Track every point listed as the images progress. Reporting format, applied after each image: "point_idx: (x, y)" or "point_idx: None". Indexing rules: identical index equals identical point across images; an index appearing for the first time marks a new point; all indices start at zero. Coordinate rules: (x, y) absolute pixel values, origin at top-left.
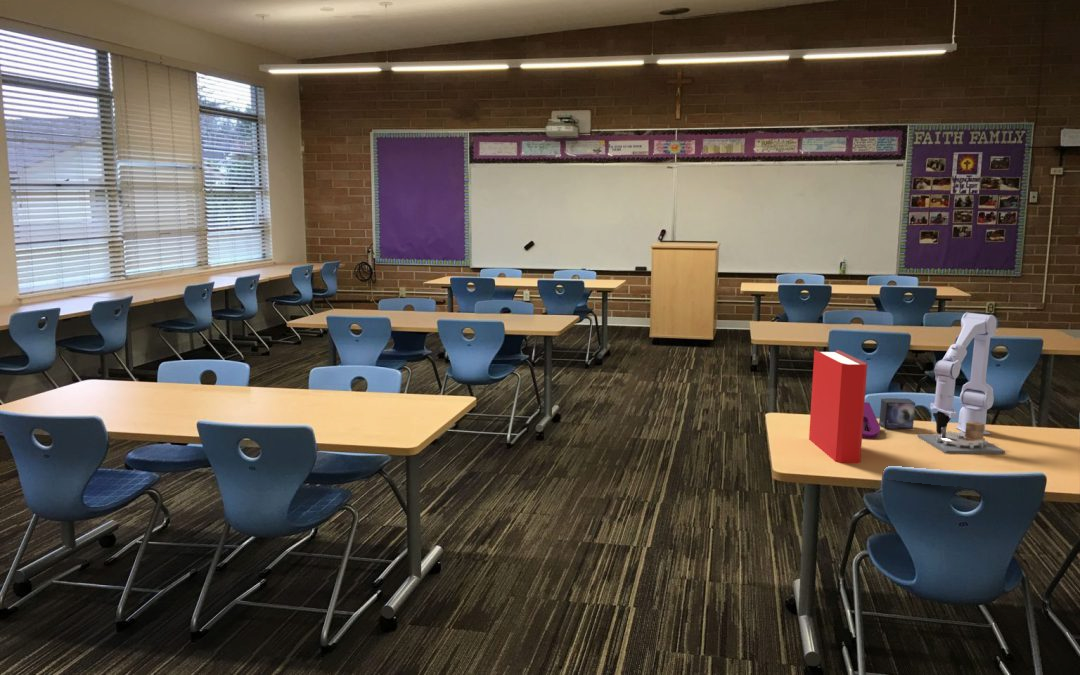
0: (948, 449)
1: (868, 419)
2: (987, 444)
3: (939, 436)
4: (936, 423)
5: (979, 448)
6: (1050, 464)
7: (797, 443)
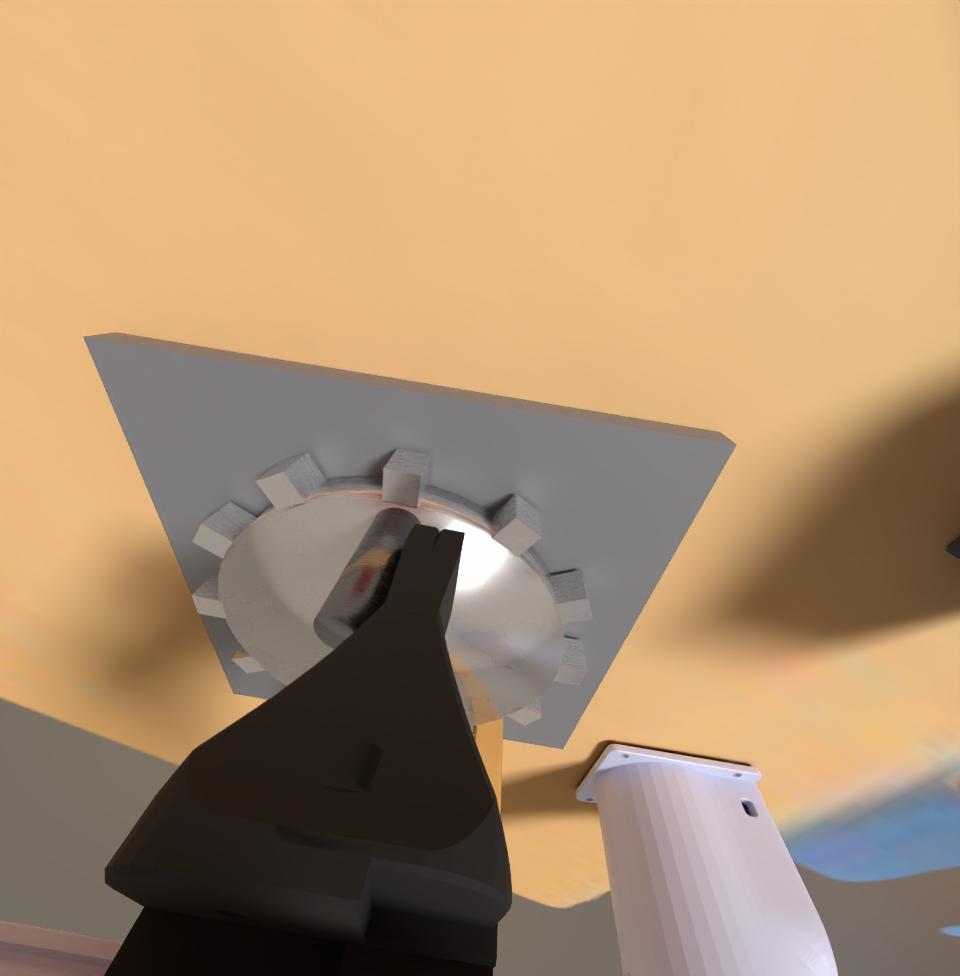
0: (144, 394)
1: None
2: None
3: (440, 521)
4: (429, 619)
5: None
6: (114, 711)
7: None
